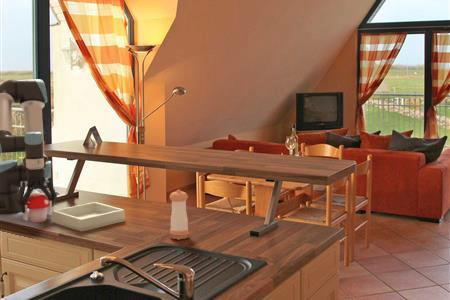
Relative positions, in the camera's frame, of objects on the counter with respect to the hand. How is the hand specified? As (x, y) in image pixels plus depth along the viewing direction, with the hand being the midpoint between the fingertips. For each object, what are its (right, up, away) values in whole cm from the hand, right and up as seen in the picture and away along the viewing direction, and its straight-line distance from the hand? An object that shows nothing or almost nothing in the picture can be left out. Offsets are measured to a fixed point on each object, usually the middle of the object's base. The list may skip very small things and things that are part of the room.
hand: (37, 217), depth 254 cm
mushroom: (0, -2, 0) cm, 2 cm away
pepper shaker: (+64, -5, -27) cm, 70 cm away
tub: (+23, -2, -2) cm, 23 cm away
